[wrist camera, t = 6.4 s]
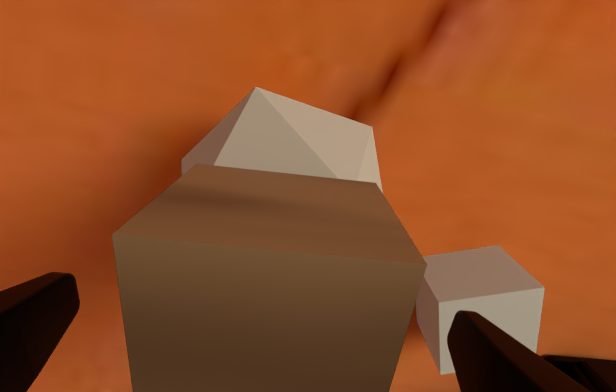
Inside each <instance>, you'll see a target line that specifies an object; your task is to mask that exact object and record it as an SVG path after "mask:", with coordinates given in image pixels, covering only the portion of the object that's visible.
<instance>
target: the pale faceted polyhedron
mask: <svg viewBox="0 0 616 392" xmlns="http://www.w3.org/2000/svg"><path fill="white" fill-rule="evenodd" d="M195 164H205V165H214V166H223V167H233V168H242V169H251V170H261V171H270V172H280V173H289V174H298V175H308V176H317V177H326V178H336V179H345V180H354V181H364V182H373V183H376V184H377V185H378V187H379V189H380V190H381V192H382V186H381V180H380V173H379V167H378V161H377V155H376V148H375V142H374V136H373V129H372V127H371V126H368V125H365V124H362V123H359V122H356V121H354V120H351V119H348V118H345V117H342V116H339V115H336V114H333V113H330V112H327V111H325V110H322V109H319V108H316V107H313V106H310V105H307V104H304V103H301V102H298V101H295V100H293V99H290V98H287V97H284V96H281V95H278V94H275V93H272V92H269V91H266V90H264V89H261V88H258V87H255V88H254V89H253V90H252V91H251V92H250V93H249V94H248V95H247V96H246V97H245V98H244V99H243V100H242V101H241V102H240V103H239V104H238V105H237V106H236V107H235V108H234V109H233V110H232V111H231V112H229V113H228V114H227V115H226V116H225V117H224V118H223V119H222V120H221V121H220V122H219V123H218V124H217V125H216V126H215V127H214V128H213V129H212V130H211V131H210V132H209V133H208V134H207V135H206V136H205V137H204V138H203V139H202V140H201V141H200V142H199V143H198V144H197V145H196V146H195V147H194V148H193V149H192V150H191V151H190V152H189V153H188V154H187V155H186V156H185V157H184V158H182V159H181V167H182V175H183V174H185V173H186V172H187V171H188V170H189V169H191V168H192V167H193V166H194V165H195ZM382 193H383V192H382Z"/></svg>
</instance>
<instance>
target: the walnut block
mask: <svg viewBox="0 0 616 392" xmlns="http://www.w3.org/2000/svg"><path fill="white" fill-rule="evenodd" d="M112 241H113V249H114V256H115V264H116V271H117V278H118V286H119V293H120V300H121V308H122V315H123V323H124V330H125V337H126V345H127V352H128V359H129V367H130V374H131V381H132V389H133V392H389V390H390V386H391V383H392V380H393V376H394V373H395V370H396V366H397V363H398V360H399V356H400V353H401V350H402V346H403V343H404V340H405V337H406V333H407V330H408V327H409V323H410V320H411V317H412V313H413V310H414V307H415V303H416V300H417V297H418V293H419V290H420V287H421V283H422V280H423V277H424V273H425V270H426V267H427V263H426V262H425V260H424V259H423V257H422V255H421V254H420V252H419V251H418V249H417V247H416V246H415V244H414V243H413V241H412V239H411V238H410V236H409V235H408V233H407V232H406V230H405V228H404V227H403V225H402V224H401V222H400V220H399V219H398V217H397V216H396V214H395V212H394V211H393V209H392V208H391V206H390V204H389V203H388V201H387V200H386V198H385V197H384V195H383V193H382V192H381V190H380V189H379V187H378V185H377V184H376V183H373V182H364V181H354V180H345V179H336V178H326V177H317V176H308V175H298V174H289V173H280V172H270V171H261V170H251V169H242V168H233V167H223V166H214V165H205V164H195V165H194V166H193V167H192V168H191V169H189V170H188V171H187V172H186V173H185V174H183V175H182V176H181V177H180V178H179V179H177V180H176V181H175V182H174V183H173V184H171V185H170V186H169V187H168V188H167V189H165V190H164V191H163V192H162V193H161V194H159V195H158V196H157V197H156V198H155V199H153V200H152V201H151V202H150V203H149V204H147V205H146V206H145V207H144V208H143V209H141V210H140V211H139V212H138V213H137V214H135V215H134V216H133V217H132V218H131V219H129V220H128V221H127V222H126V223H125V224H124V225H122V226H121V227H120V228H119V229H118V230H116V231H115V232H114V233H113V234H112Z"/></svg>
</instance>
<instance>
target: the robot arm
mask: <svg viewBox="0 0 616 392" xmlns="http://www.w3.org/2000/svg"><path fill="white" fill-rule="evenodd" d="M79 306H80V300H79V295H78V290H77V284H76V279H75V277H74V276H73V275H72V274H70V273H61V272H51V273H48V274H45V275H43V276H40V277H37V278H35V279H32V280H29V281H27V282H24V283H21V284H19V285H16V286H13V287H11V288H8V289H5V290H3V291H0V392H27V390H28V389H29V387H30V386H31V385H32V383H33V382H34V380H35V379H36V378H37V376H38V375H39V373H40V372H41V370H42V369H43V367H44V365H45V364H46V362H47V361H48V359H49V357H50V356H51V354H52V353H53V351H54V349H55V348H56V346H57V345H58V343H59V341H60V340H61V338H62V337H63V335H64V333H65V332H66V330H67V329H68V327H69V325H70V324H71V322H72V321H73V319H74V317H75V316H76V314H77V312H78V310H79ZM447 345H448V349H449V352H450V356H451V359H452V363H453V366H454V370H455V373H456V376H457V380H458V383H459V387H460V390H461V392H616V361H610V360H598V359H587V358H576V357H564V356H547V357H546V358H544V359H543V358H542V357H540V356H539V355H537V354H536V353H534V352H533V351H532V350H530V349H529V348H527V347H526V346H524V345H523V344H522V343H520V342H519V341H517V340H516V339H514V338H513V337H512V336H510V335H509V334H507V333H506V332H505V331H503V330H502V329H500V328H499V327H497V326H496V325H495V324H493V323H492V322H490V321H489V320H487V319H486V318H485V317H483V316H482V315H480V314H479V313H477V312H475V311H466V310H459V311H458V312H457V313H456V314H455V316H454V319H453V322H452V324H451V327H450V330H449V332H448V335H447Z"/></svg>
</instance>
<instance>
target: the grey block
mask: <svg viewBox="0 0 616 392" xmlns="http://www.w3.org/2000/svg"><path fill="white" fill-rule="evenodd" d="M423 259H424V260H425V262H426V263H427V267H426V270H425V273H424V277H423V280H422V283H421V287H420V290H419V293H418V297H417V300H416V316H417V323H418V325H419V328H420V330H421V332H422V334H423V337H424V339H425V341H426V343H427V346H428V348H429V350H430V352H431V355H432V357H433V359H434V361H435V364H436V366H437V368H438V370H439V373H440V375H443V374H450V373H455V370H454V366H453V363H452V359H451V356H450V352H449V349H448V345H447V335H448V332H449V330H450V327H451V324H452V322H453V319H454V316H455V314H456V313H457V312H458V311H459V310H466V311H475V312H477V313H479V314H480V315H482V316H483V317H485V318H486V319H487V320H489V321H490V322H492V323H493V324H495V325H496V326H497V327H499V328H500V329H502V330H503V331H505V332H506V333H507V334H509V335H510V336H512V337H513V338H514V339H516V340H517V341H519V342H520V343H522V344H523V345H524V346H526V347H527V348H529V349H530V350H532V351H533V352H534V353H536V349H537V342H538V334H539V327H540V319H541V312H542V304H543V297H544V290H545V287H544V286H543V285H542V284H540V283H539V282H538V281H537V280H536V279H535V278H534V277H533V276H532V275H530V274H529V273H528V272H527V271H526V270H525V269H524V268H523V267H522V266H521V265H519V264H518V263H517V262H516V261H515V260H514V259H513V258H512V257H511V256H510V255H508V254H507V253H506V252H505V251H504V250H503V249H502V248H501V247H500V246H498V245H496V246H489V247H483V248H476V249H469V250H463V251H456V252H449V253H443V254H436V255H430V256H423Z"/></svg>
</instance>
